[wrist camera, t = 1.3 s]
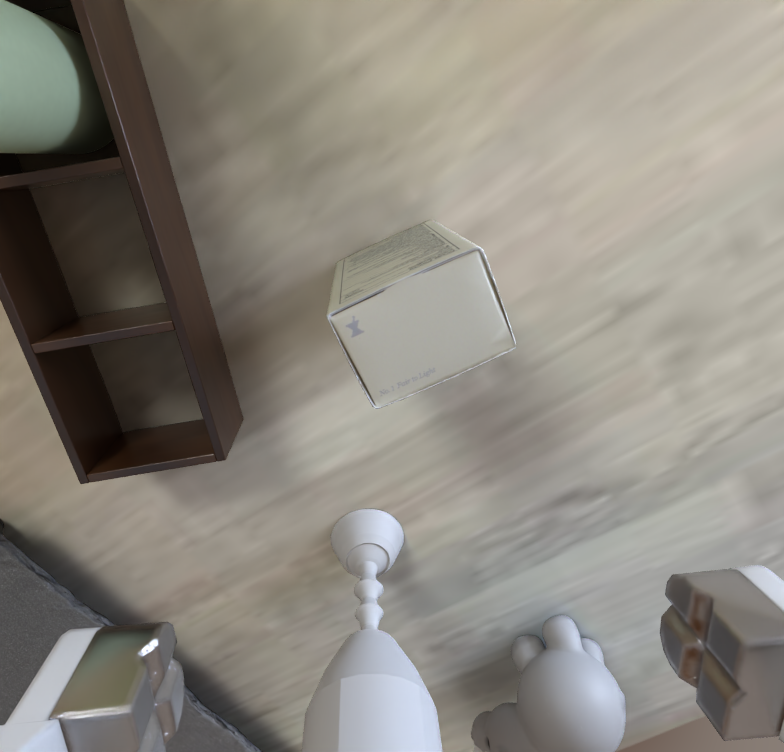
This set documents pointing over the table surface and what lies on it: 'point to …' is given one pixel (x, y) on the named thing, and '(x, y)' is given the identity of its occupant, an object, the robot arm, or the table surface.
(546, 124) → the table surface
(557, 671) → the round bodied animal figurine
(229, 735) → the serving tray
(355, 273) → the cosmetic box
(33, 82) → the towel roll
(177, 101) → the table surface
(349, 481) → the table surface
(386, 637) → the chalice
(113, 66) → the rack
